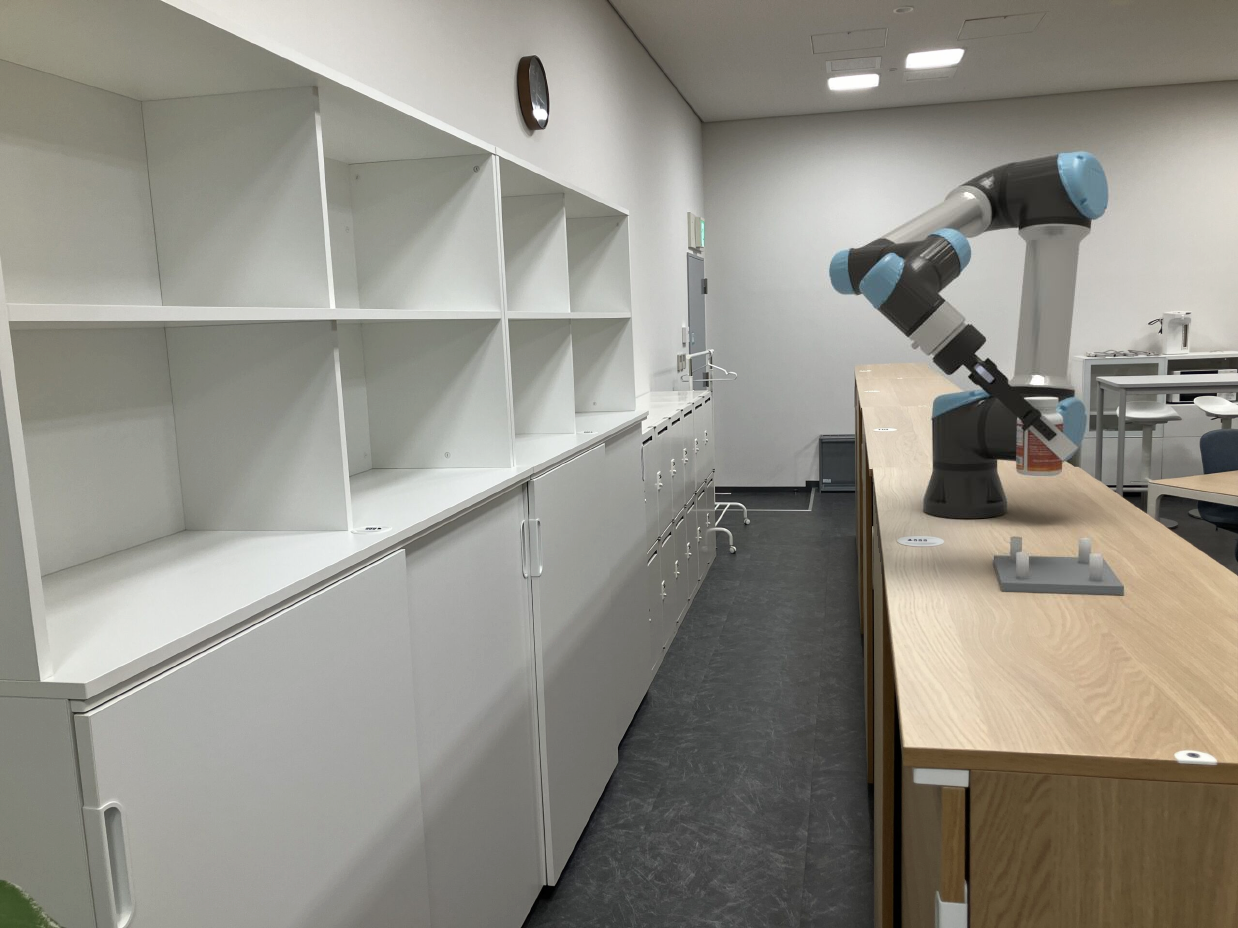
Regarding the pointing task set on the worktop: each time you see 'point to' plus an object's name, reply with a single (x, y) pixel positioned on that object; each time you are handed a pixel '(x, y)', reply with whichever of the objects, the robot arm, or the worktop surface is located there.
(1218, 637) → the worktop surface
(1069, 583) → the peg board
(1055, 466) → the pill bottle
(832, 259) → the robot arm
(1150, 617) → the worktop surface
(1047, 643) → the worktop surface
